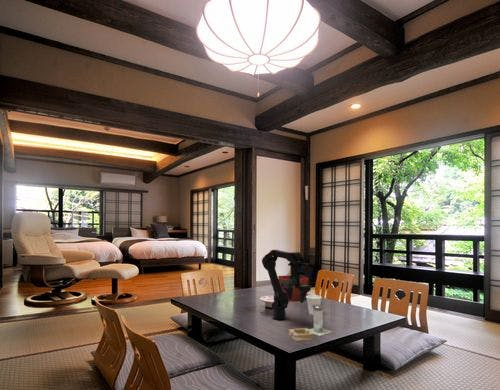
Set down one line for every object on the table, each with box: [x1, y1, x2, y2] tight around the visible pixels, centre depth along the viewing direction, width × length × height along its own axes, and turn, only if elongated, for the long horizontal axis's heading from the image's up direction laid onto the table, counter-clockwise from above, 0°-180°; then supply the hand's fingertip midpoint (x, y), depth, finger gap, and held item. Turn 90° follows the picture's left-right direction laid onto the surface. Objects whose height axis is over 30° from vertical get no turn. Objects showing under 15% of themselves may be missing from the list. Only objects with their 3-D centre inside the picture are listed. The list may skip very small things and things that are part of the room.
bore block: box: [288, 327, 316, 342], centre depth 164 cm, size 10×10×3 cm
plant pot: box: [277, 274, 310, 302], centre depth 250 cm, size 19×19×17 cm
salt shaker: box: [312, 304, 324, 333], centre depth 173 cm, size 6×6×13 cm
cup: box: [305, 294, 323, 316], centre depth 208 cm, size 10×10×11 cm
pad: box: [308, 327, 332, 337], centre depth 173 cm, size 10×10×1 cm
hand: (295, 301), depth 187 cm, fingers open, 9 cm apart
